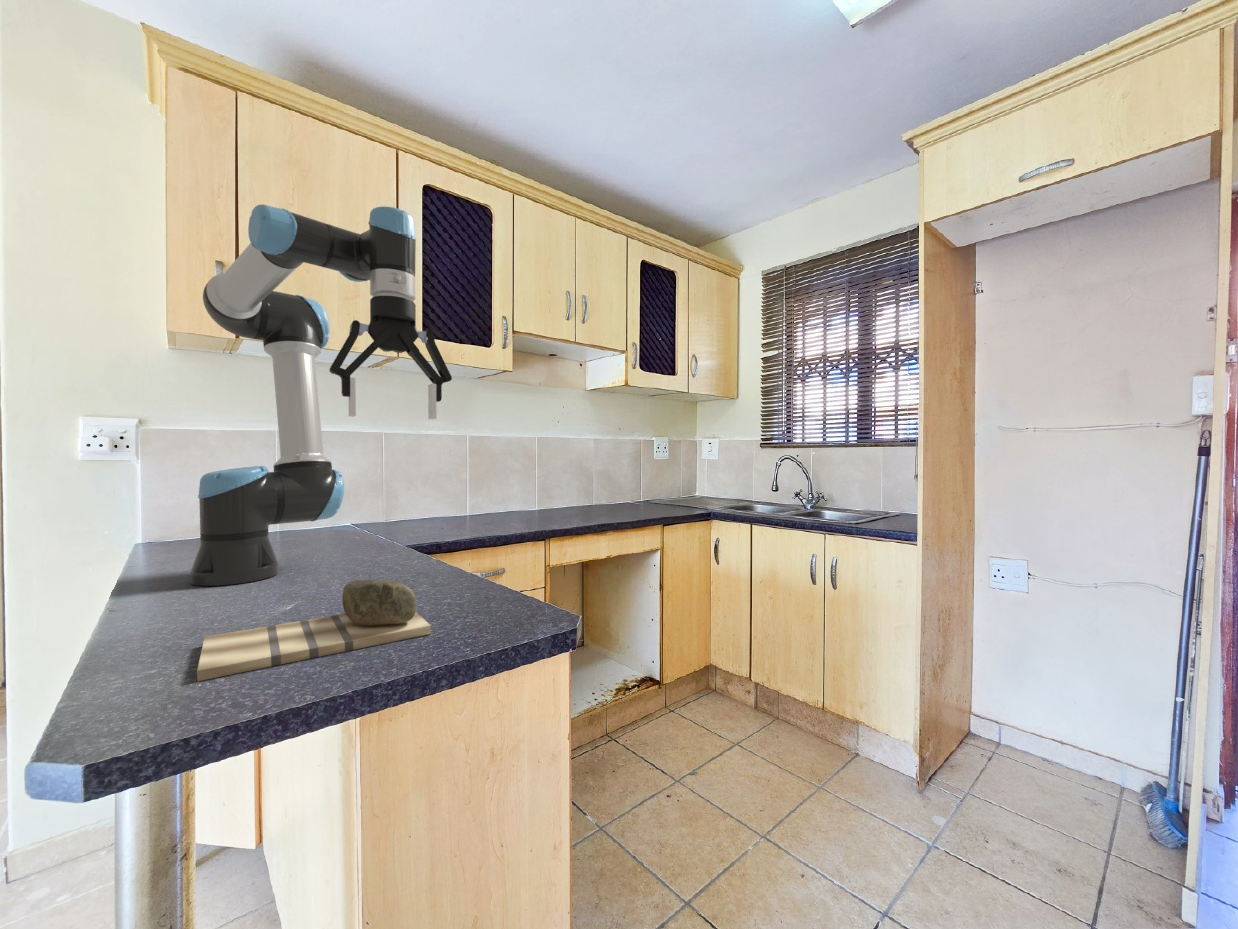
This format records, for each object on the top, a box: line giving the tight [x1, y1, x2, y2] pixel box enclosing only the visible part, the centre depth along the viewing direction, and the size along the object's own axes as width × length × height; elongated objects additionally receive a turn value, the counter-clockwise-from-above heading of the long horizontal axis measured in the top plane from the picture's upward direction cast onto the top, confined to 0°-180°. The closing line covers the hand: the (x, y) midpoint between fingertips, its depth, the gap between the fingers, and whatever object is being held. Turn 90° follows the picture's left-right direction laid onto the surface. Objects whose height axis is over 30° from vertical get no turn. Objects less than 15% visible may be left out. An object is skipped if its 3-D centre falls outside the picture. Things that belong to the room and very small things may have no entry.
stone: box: [341, 579, 417, 626], centre depth 78 cm, size 9×14×10 cm, turn 38°
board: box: [196, 611, 432, 682], centre depth 73 cm, size 14×26×1 cm, turn 126°
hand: (393, 417), depth 95 cm, fingers open, 13 cm apart
